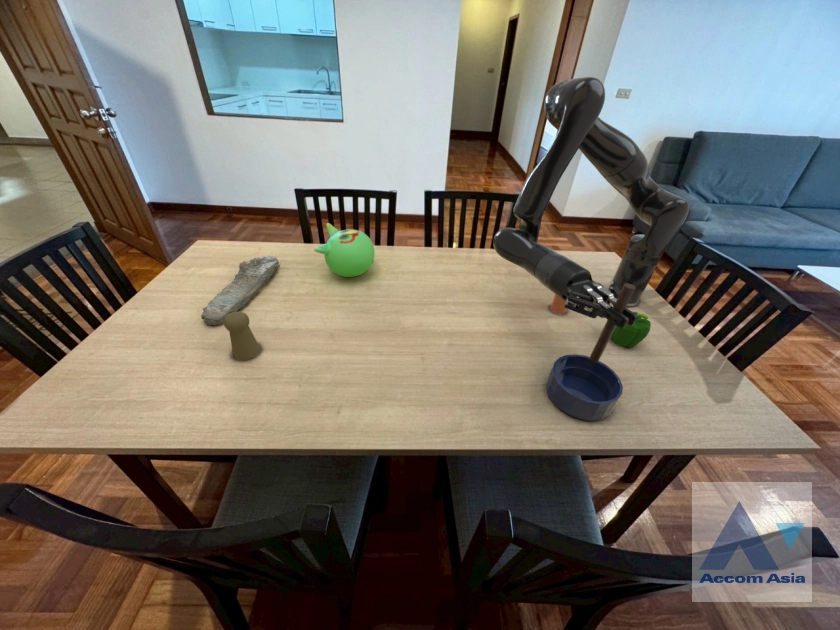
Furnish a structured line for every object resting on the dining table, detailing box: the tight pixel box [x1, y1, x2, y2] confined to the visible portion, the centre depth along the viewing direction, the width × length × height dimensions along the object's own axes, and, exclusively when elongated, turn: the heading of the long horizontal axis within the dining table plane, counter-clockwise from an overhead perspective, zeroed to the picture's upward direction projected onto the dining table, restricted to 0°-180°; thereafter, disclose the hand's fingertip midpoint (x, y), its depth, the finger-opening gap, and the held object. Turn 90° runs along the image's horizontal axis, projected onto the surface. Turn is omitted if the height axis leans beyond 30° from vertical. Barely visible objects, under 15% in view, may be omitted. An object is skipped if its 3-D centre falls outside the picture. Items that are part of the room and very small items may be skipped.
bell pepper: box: [610, 311, 652, 348], centre depth 92 cm, size 8×8×10 cm
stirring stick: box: [589, 283, 635, 363], centre depth 67 cm, size 2×2×18 cm
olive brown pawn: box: [223, 310, 261, 361], centre depth 82 cm, size 6×6×11 cm
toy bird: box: [313, 222, 376, 278], centre depth 113 cm, size 18×17×15 cm
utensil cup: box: [550, 293, 568, 314], centre depth 104 cm, size 5×5×7 cm
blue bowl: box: [545, 353, 624, 422], centre depth 78 cm, size 14×14×6 cm
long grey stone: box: [200, 255, 280, 326], centre depth 105 cm, size 35×5×10 cm
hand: (630, 322), depth 63 cm, fingers closed on stirring stick, 2 cm apart
